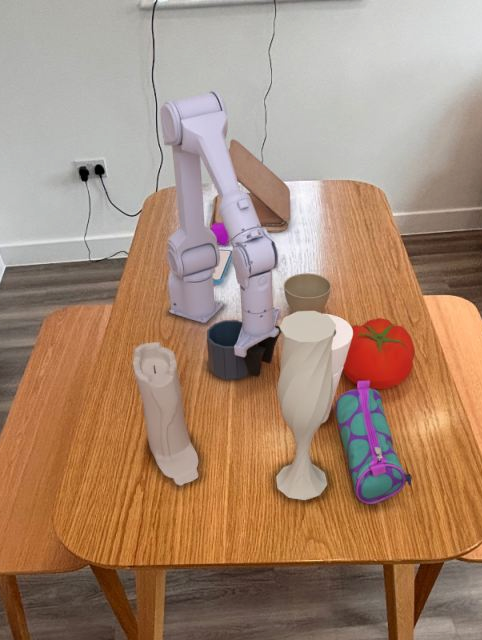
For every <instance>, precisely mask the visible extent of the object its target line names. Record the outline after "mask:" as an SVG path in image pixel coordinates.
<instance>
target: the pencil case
mask: <svg viewBox="0 0 482 640" xmlns="http://www.w3.org/2000/svg"><path fill="white" fill-rule="evenodd" d="M369 384H370V381H358V383H357V384H356V385H357V388H355V389H349V390H347V391H344V392H343V393H341V395H340V396H339V397H338V398H337V399H336V401H335V404H334V414H335V417H336V420H337V426H338V430H339V434H340V437H341V440H342V445H343V448H344V451H345V455H346V459H347V462H348V468H349V473H350V477H351V480H352V483H353V491H354V495H355V497H356V498H357V499H358V500H359V501H360V502H361V503H364V504H367V505H375V504H378V503H380V502H381V503H382V502H384V501H386V500H389V499H390V498H392V497H394V496H395V495H397V494H399V493H400V492H401V491H402V490H403V489H404V487H405V485H406V483H407V485H408V486H409V487H411V484H412V474H411V473H409V472H407V473H406V472H405V470H404V468H403V466H402V464H401V462H400V459H399V456H398V454H397V453H396V451H395V448H394V443H393V438H392V432H391V429H390V427H389V423H388V420H387V416H386V413H385V410H384V406H383V398H382V395H381V393H380V392H379V391H378V390H377V389H372V388H369Z"/></svg>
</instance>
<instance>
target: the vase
mask: <svg viewBox="0 0 482 640" xmlns="http://www.w3.org/2000/svg"><path fill="white" fill-rule="evenodd" d="M325 314H326V313H322V312H321V313H319V312H316V311H297V312H295V313H290V314H289V315H286V316H284V317H283V319H282V320H281V323H280V325H279V327H280V330H281V333H280V334H281V336H282V350H281V357H280V371H279V378H278V382H277V398H278V403H279V405H280V409H281V412H282V413H281V414H282V417H283V419H284V421H285V423H286V424H287V426H288V428H289V429H290V431H291V433H292V435H293V437H294V441H295V442H294V443H295V455H294V459H293V461H292V463H291V464H288V465H286V466H283V467H282V468H281V470H280V471H279V472H278V474H277V475H276V476H275V478H276V479H275V481H276V489H277V490H279V491H280V492H281V493H283V494H284V495H285V496H286V497H287V498H289V499H295V500H300V501H301V500H302V501H306V500H310V499H313V498H316V497H320V496H321V494H322V493H323V491H325V489H326V487H327V486H328V481H327V477H326V472H324V471H323V470H322V469H320V468H319V467H318V466H316V465H315V464H313V462H312V460H311V454H310V449H311V443H312V440H313V438H314V436H315V434H316V432H317V431H318V430H319V428H320V426H321V425H322V424H323V423H322V422H323V420H324V418H325V417H326V415H327V413H328V410H329V408H330V405H331V401H332V395H333V375H332V342H333V337H334V333H335V328H336V324H335V323H334V322H333V320H332V319H331V318H330V316H328V315H325Z"/></svg>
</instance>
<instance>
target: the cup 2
mask: <svg viewBox="0 0 482 640" xmlns="http://www.w3.org/2000/svg"><path fill="white" fill-rule="evenodd" d="M324 314H325V315H328V316H330V318H331V319H332V320H333V322H334V323H335V324H336V328H335V333H334V337H333V342H332V375H333V395H332V401H331V405H330V408H329V410H328V413H327V415H326V417H325V418H324V420H323V422H322V423H321V424H324V423H325V422H327V421H328V419H329V417H330V413H331V410H332V407H333V403H334V400H335V398H336V397H335V396H336V393H337V390H338V387H339V382H340V379H341V376H342V373H343V366H344V363H345V360H346V357H347V353H348V350H349V347H350V343H351V340H352V337H353V329H352V326H351V324H350V323H349V322H348V321H347V320H345V319H343V318H342V317H340V316H337V315H334V314H329V313H324Z"/></svg>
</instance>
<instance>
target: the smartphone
mask: <svg viewBox="0 0 482 640" xmlns="http://www.w3.org/2000/svg"><path fill="white" fill-rule="evenodd" d="M219 252H220V262H219V265H218V267H215V273H213V285H215V284H216V285H220V284H222V283H223V281H224V279H225V276H226V273H227V271H228V269H229V266H230V264H231V262H232V257H231V254H232V250H231V249H222V248H221V249H220V248H219Z"/></svg>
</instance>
